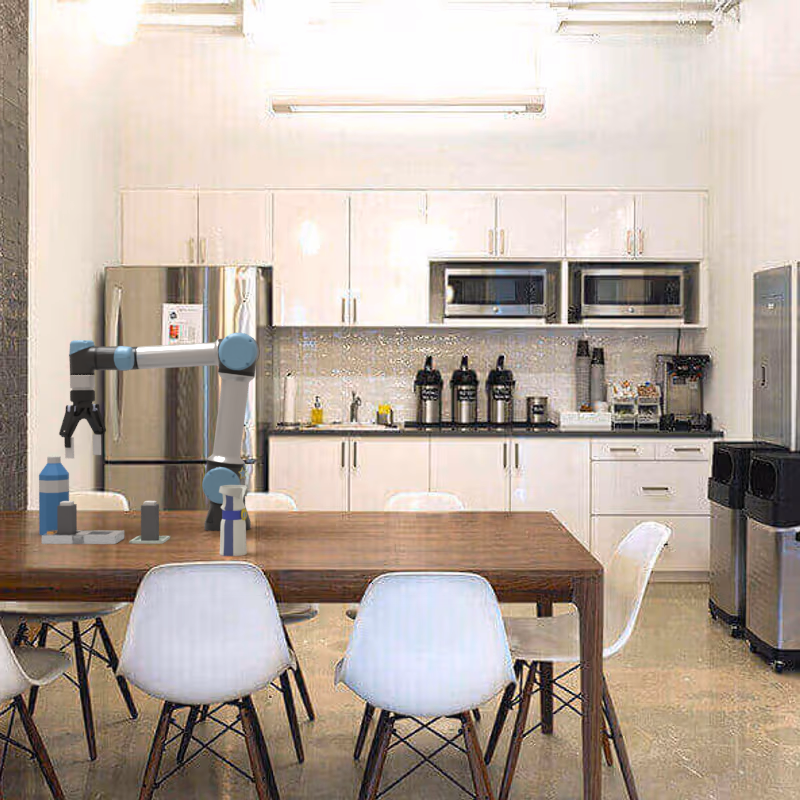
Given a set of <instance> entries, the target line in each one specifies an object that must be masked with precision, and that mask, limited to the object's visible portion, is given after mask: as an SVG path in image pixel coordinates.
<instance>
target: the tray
mask: <svg viewBox="0 0 800 800" xmlns="http://www.w3.org/2000/svg"><path fill="white" fill-rule="evenodd" d="M170 539H171V535H159V540H158V541H141V535H137V536H135V537H133V538H132V539H130V540H128V541H129V542H128V544H133V545H135V544H137V545H139V544H145V545H148V544H149V545H150V544H153V545H154V544H156V545H157V544H158V545H159V544H164V543H166V542H167V541H168V540H170Z"/></svg>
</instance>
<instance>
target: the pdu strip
mask: <svg viewBox="0 0 800 800" xmlns="http://www.w3.org/2000/svg"><path fill="white" fill-rule="evenodd" d="M123 540H125V530H124V529H123V530H121V529H120V530H109V529H108V530H99V529H97V530H94V529H93V530H91V529H90V530H89V529H88V530H87V529H86V530H84V529H83V530H82V529H81V530H79V529H77V533H76V534H74V535H57V530H50V531H47V533H46V534H44V535H41V544H42V545H116V544H117V543H120V542H121V541H123Z"/></svg>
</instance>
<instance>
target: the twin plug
mask: <svg viewBox="0 0 800 800" xmlns="http://www.w3.org/2000/svg"><path fill="white" fill-rule="evenodd" d="M77 510H78V509H77V504H76V503H75V501H74V500H69V501H62V502H60V505H58V506H57V535H74V534H76V533H77V530H78V529H77V527H78V526H77V525H78V521H77V518H78V513H77V512H78V511H77Z"/></svg>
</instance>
